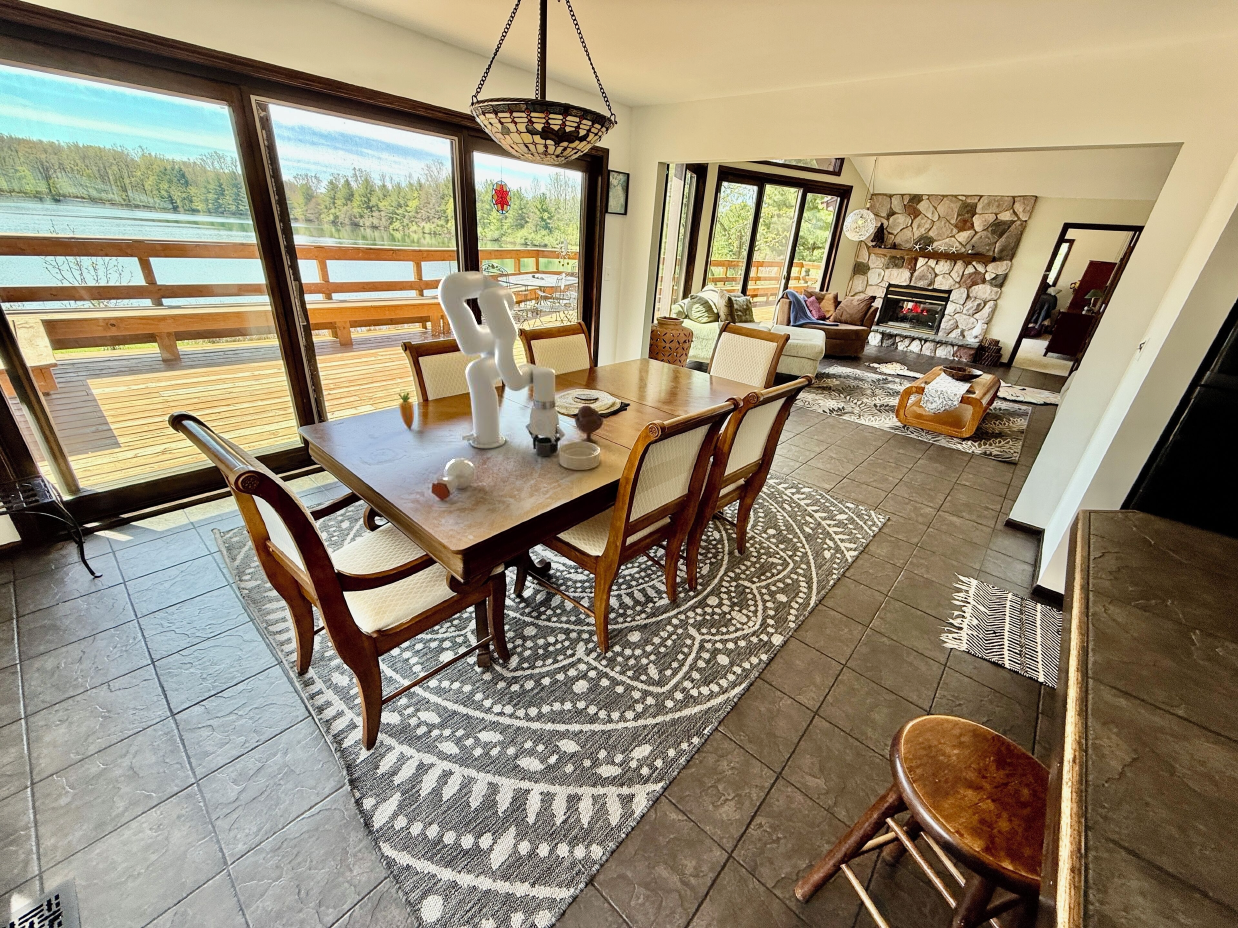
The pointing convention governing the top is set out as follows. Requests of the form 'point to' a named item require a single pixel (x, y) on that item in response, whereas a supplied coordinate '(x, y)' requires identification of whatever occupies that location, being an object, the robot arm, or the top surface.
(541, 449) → the black bowl
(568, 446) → the cream bowl
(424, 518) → the top surface
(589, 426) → the ice cream bowl
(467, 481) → the potion bottle
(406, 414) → the carrot
